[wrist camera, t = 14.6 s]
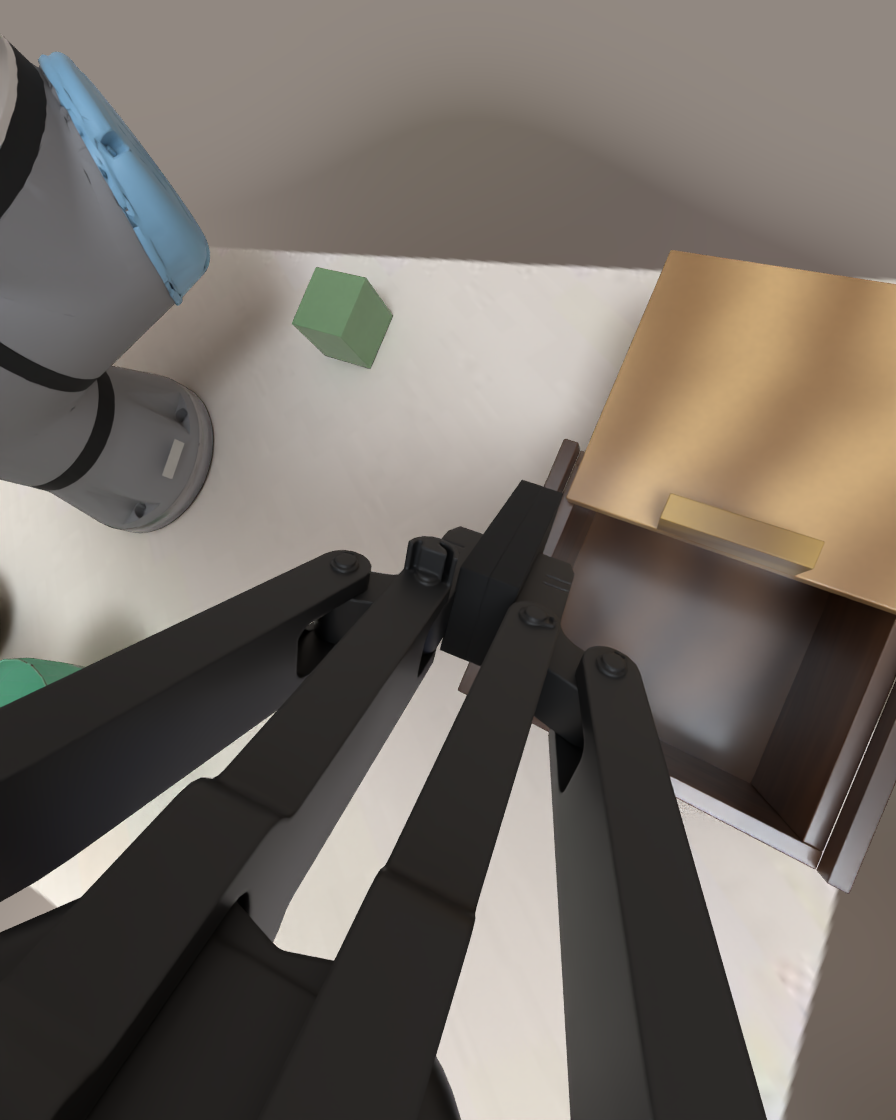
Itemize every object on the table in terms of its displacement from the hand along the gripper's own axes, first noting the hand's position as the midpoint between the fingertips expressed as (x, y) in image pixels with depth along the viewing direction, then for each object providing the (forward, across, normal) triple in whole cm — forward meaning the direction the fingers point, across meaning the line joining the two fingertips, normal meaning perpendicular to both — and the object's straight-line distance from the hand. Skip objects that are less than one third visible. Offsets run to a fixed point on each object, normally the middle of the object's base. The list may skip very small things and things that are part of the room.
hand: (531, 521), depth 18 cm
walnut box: (+14, +10, -11) cm, 20 cm away
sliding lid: (+12, +8, +3) cm, 15 cm away
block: (+26, -21, -1) cm, 34 cm away
